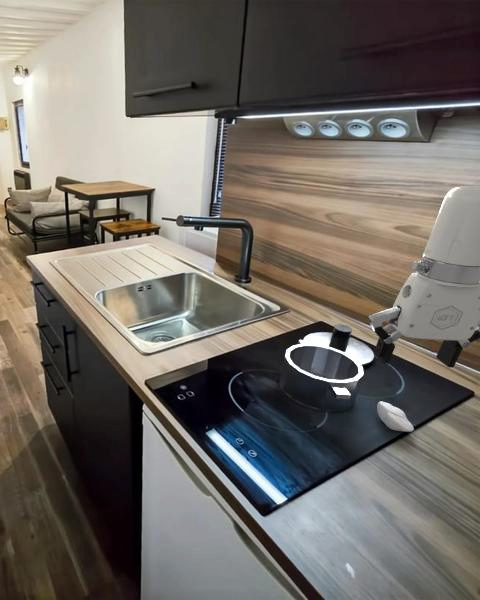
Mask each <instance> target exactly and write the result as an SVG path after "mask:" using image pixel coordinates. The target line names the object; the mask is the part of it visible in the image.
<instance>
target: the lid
mask: <svg viewBox="0 0 480 600" xmlns="http://www.w3.org/2000/svg"><path fill="white" fill-rule="evenodd" d="M352 332H353V328H352V327H350V326H348V325H345V324H340V323H339V324H335V325H333V330H332V332H325V331H320V332H319V331H318V332H313V333H312V332H311V333H309V334H307V335H306V336H304V337H303V340H310V341H311V342H312V344H316V345H322V346H327V347H331V348H334V349H336V350H339V351H342V352H344V353H346V354H348V355H349V356H351V357H353V358H354V359H356V360H357V361H358V362H359V364H360V365H361V366H362V367H364V366H368V365H370V364H371V363H372V362H374V359H375V353H374V351H373V350H372V349H371V347H369V346H368V345H367V344H366V343H364V342H362V341H360V340H358V339H356V338H353V337H351V336H352Z"/></svg>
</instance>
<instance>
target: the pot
mask: <svg viewBox="0 0 480 600" xmlns="http://www.w3.org/2000/svg"><path fill="white" fill-rule="evenodd" d="M364 376H365V374H364V366H361V365H360V364H359V362H358V361H357V360H356V359H354V358H353V357H351V356H349V355H348V354H346V353H344V352H342V351H339V350H336V349H334V348H331V347H327V346H322V345H316V344H312V342H311V341H310V340H304V339H298V343H297V344H294V345H292V346H290V347H289V348H287V349H286V350H285V355H284V359H283V363H282V368H281V372H280V375H279V380H278V384H279V387H280V389H281V391H282V392H283V394H284V395H285V396H286V397H287V398H289V399H290V400H292V401H293V402H294V403H297V404H298V405H300V406H302V407H305V408H307V409H310V410H312V411H316V412H321V413H331V414H335V413H336V414H337V413H343V412H346V411H347V410H349V409H350V408H352V406H353V405H354V403H355V401H356V398H357V396H358V393H359V390H360V388H361V387H360V386H361V384H362V381H363V378H364Z"/></svg>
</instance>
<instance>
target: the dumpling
mask: <svg viewBox="0 0 480 600" xmlns="http://www.w3.org/2000/svg"><path fill="white" fill-rule="evenodd" d="M376 412H377V415H378V417H379V419H380V420H381V421H382V422H383V423H384V424H385V426H386V427H387V428H388V429H390V430H392V431H396V432H406V433H410V432H413V431H414V430H415V428H414V426H413V424H412V423H411V422H410V421H409V419H408V418H407V415H406V413H405V412H404V410H403V409H400V408H399V407H396V406H393V405H392V404H391V403H388V402H387V401H386V402H385V401H383V400H382V401H380V400H379V401H378V402H377V404H376Z"/></svg>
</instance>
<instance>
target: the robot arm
mask: <svg viewBox="0 0 480 600" xmlns="http://www.w3.org/2000/svg"><path fill="white" fill-rule="evenodd" d="M410 269H411V270H412V271H415V272H411V274H410V275H409V277H408V278H407V279H406V280H405V282H404V284H403V286H402V287H401V289H400V291H399V293H398V294H397V296H396V299H395V301H394V303H393V305H392V307H391V308H388V309H385V310H382V311H379V312H376V313H373V314H370V315H369V316H368V321H369V324H370V328H371V330H372V331H373V332H374V333H375V334H376V336H377V337H378V339H377V342H376V345H375V347H374V351H373V353H374V356H375V357H376V358H377V359H378V360H379V361H380V362H381V363H382V364H385V365H387V364H389V363H390V361H391V359H392V356H393V354H394V351H395V348H396V344H395V342H396V341H397V340H399V339H400V338H402V337H405V338H407V339H413V340H414V339H415V340H435V341H442V343H441V345H440V347H439V349H438V352H437V354H436V359H437V360H438V361H440V363H442V364H443V365H445V366H446V367H447V368H450V369H451V368H454V367H455V365H456V363H457V362H458V359H459V357H460V355H461V353H462V351H463V349H466V348H469V347H470V346H471V343H473V342H475V341H477V340H479V339H480V185H461V186H457V187H454V188H452V189H451V190H449V191H448V192H447V194H446V195H445V196H444V198H443V201H442V204H441V206H440V208H439V212H438V214H437V217H436V220H435V222H434V225H433V227H432V229H431V233H430V235H429V238H428V240H427V243H426V246H425V248H424V251H423V254H422V256H421V257H420V260H419V261H413V262H412V263H411V265H410ZM385 322H387V323H388V324H386V325H385V326H383V323H385Z"/></svg>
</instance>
